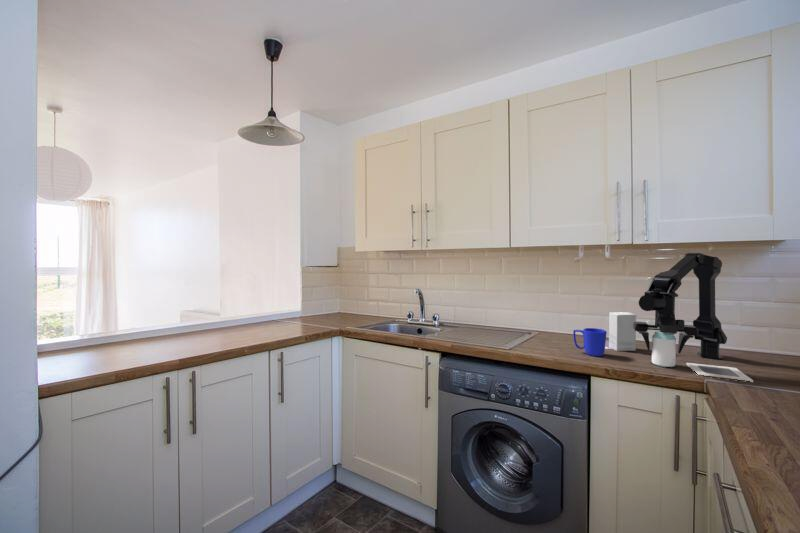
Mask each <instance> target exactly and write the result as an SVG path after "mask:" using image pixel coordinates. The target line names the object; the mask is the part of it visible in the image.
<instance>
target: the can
mask: <svg viewBox="0 0 800 533" xmlns="http://www.w3.org/2000/svg"><path fill="white" fill-rule="evenodd" d="M651 337H652V338H651V339H652V340H651V363H652V364H654V366H656V367H661V368H666V367H671V368H673V367H675V366H676V357H677V356H676V354H677V353H676V352H677V338H676V336H675V334H672V333H662V332H660V330H655V331H654V333H653V335H652V336H651Z"/></svg>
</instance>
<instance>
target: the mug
mask: <svg viewBox="0 0 800 533" xmlns="http://www.w3.org/2000/svg"><path fill="white" fill-rule="evenodd" d="M576 332H578V333H581V334H582V336H583V337H582V338H583V346H582V347H581V346H579V344H578V343H577V340H576V339H577V338H576ZM607 332H608V331H607V330H605V329H602V328H595V327H592V328H591V327H587V328H584V329H574V330H573V332H572V333H573V334H572V335H573V342H574V345H575V347H576V348H577V349H580V350H584V353H585V354H586V355H588V356H592V357H603V355H604V354H605V351H606V350H605V349H606V348H605V342H606V340H607Z"/></svg>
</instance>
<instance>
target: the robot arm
mask: <svg viewBox="0 0 800 533" xmlns="http://www.w3.org/2000/svg"><path fill="white" fill-rule="evenodd" d="M722 267H723V261H722V260H721V259H720V258H719V257H717V256H711V255H706V254H704V253H700V252H687V253H685V254H684V256H683V257H682V258H681V259H680V260H679V261H678V262H677V263H676V264H674V265H673V266H672V267H670V269H668V270H666V271H661V272H659V273H657V274H656V275H654V277H652V279H651V282H650V284H649V285H648V287H647V290H646V291H644V295H642V296H640V298H639V300H638V305H639V308H640V309H641V310H642V311H645V312H653V311H655V313H654V314H655V315H654V324H648V323H647V322H646V321H637V320H636V321H635V322H634V323H633V329H634V330H635V331H636V332H637V333H638V334H640V335H641V336H642V337H643V340H644V343H645V346H646V349H647V351H650V349H651V348H650V345H651V344H650V337H649V336H650V333H649V332H648V331H651V330H652V331H660V332H662V333H672V334H674V335H676V334H678V333H679V334H678V342H677V343H678V344H677V353H678V354H681V353H682V350H683V349H684V346H685V345H686V343H687V341H689V340H690V339H691V338H692V339H693V338H694V340H698V341H700V350H699V351H700V352H699V351H698V352H697V353H696V354H697V355H698V356H700V357H701V358H706V359H713V360H714V359H717V360H723V359H724V358H723V357H722V356H721V355H720V345H725V344H727V341H728V336H727V335H726V334H725V332H724V330H723V329H722V328H723V327H722V322H721V321H720V320H719V319H718V317H717V315H716V279H717V278H718V276H719V275H720V274H721V270H722ZM691 271H693V274H694V275H695V277H696V278H697V279H698V316H697V317H696V319H693V321H692V324H685V320H684V319H676V314H675V313H676V312H675V310H676V309H675V308H676V298H677V297H679V294H678V293H676V291H678V290H679V288H680V287H681V286H682V283H683V282H682V280H683V279H684V278H685V277H686V276H687V275H688V274H689V273H690V272H691Z"/></svg>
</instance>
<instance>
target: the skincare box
mask: <svg viewBox="0 0 800 533" xmlns="http://www.w3.org/2000/svg"><path fill="white" fill-rule="evenodd" d="M608 314H609V322H608V324H609V325H608V326H609V327H608V329H609V330H608V340H609V346H610V347H612V348H613V349H612V350H614V351H616V352H620V351H621V352H623V351H624V352H627V351H630V352H631V351H636V348H637V347H636V345H637V344H636V338H637V336H636V335H637V331H635V330H634V329H633V323H634V322H635V321H637V314H635V313H633V312H628V311H622V312H620V311H618V312H614V311H612V312H609V313H608Z"/></svg>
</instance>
